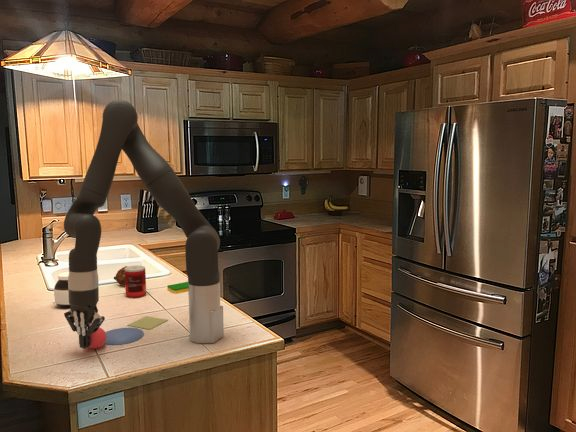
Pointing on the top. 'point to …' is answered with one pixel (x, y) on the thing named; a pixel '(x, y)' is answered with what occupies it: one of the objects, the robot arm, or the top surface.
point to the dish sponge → (178, 288)
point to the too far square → (147, 322)
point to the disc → (123, 336)
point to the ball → (98, 338)
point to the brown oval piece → (120, 276)
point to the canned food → (135, 281)
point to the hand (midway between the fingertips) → (84, 347)
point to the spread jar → (62, 291)
